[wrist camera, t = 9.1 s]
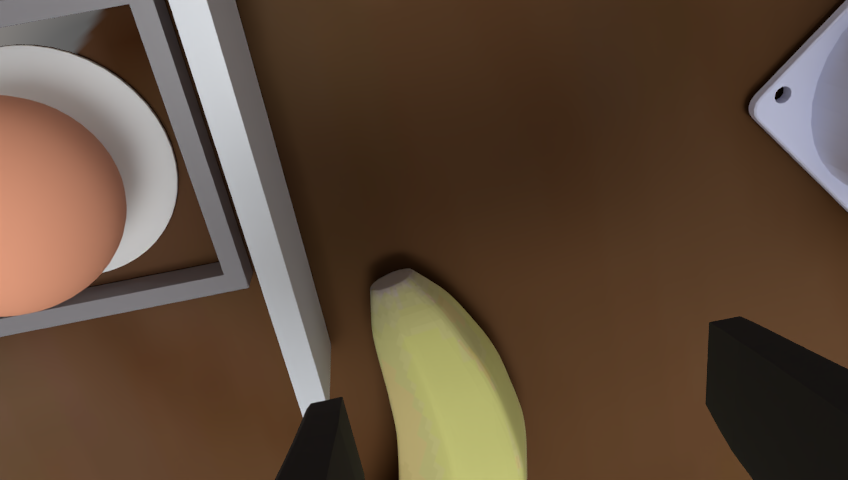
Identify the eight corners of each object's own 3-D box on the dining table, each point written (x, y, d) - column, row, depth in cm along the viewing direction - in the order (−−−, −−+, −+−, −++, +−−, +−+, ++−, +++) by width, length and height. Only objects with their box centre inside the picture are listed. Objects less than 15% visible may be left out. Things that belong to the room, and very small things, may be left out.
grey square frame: (155, -29, 17) (144, -26, 16) (252, 272, 21) (248, 287, 20) (-199, 36, 17) (-229, 42, 16) (-30, 327, 21) (-47, 346, 20)
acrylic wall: (147, -190, 16) (98, -218, 12) (180, -196, 16) (139, -226, 12) (308, 349, 23) (302, 417, 20) (331, 344, 23) (329, 411, 20)
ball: (-4, 30, 17) (-144, 74, 12) (185, 150, 19) (131, 229, 14) (-89, 188, 19) (-243, 284, 14) (95, 285, 21) (18, 399, 16)
